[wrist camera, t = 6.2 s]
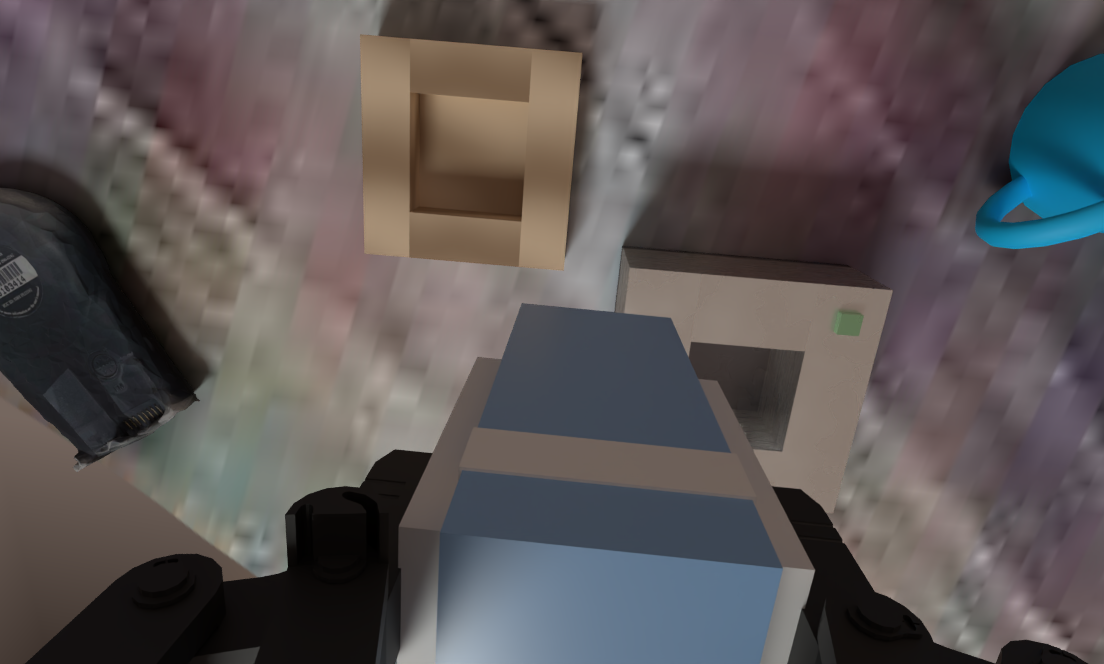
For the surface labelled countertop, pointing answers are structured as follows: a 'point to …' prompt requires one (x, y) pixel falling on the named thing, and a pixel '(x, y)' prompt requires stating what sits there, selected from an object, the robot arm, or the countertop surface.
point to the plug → (601, 509)
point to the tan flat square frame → (467, 150)
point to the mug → (1054, 164)
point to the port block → (771, 349)
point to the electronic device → (77, 334)
